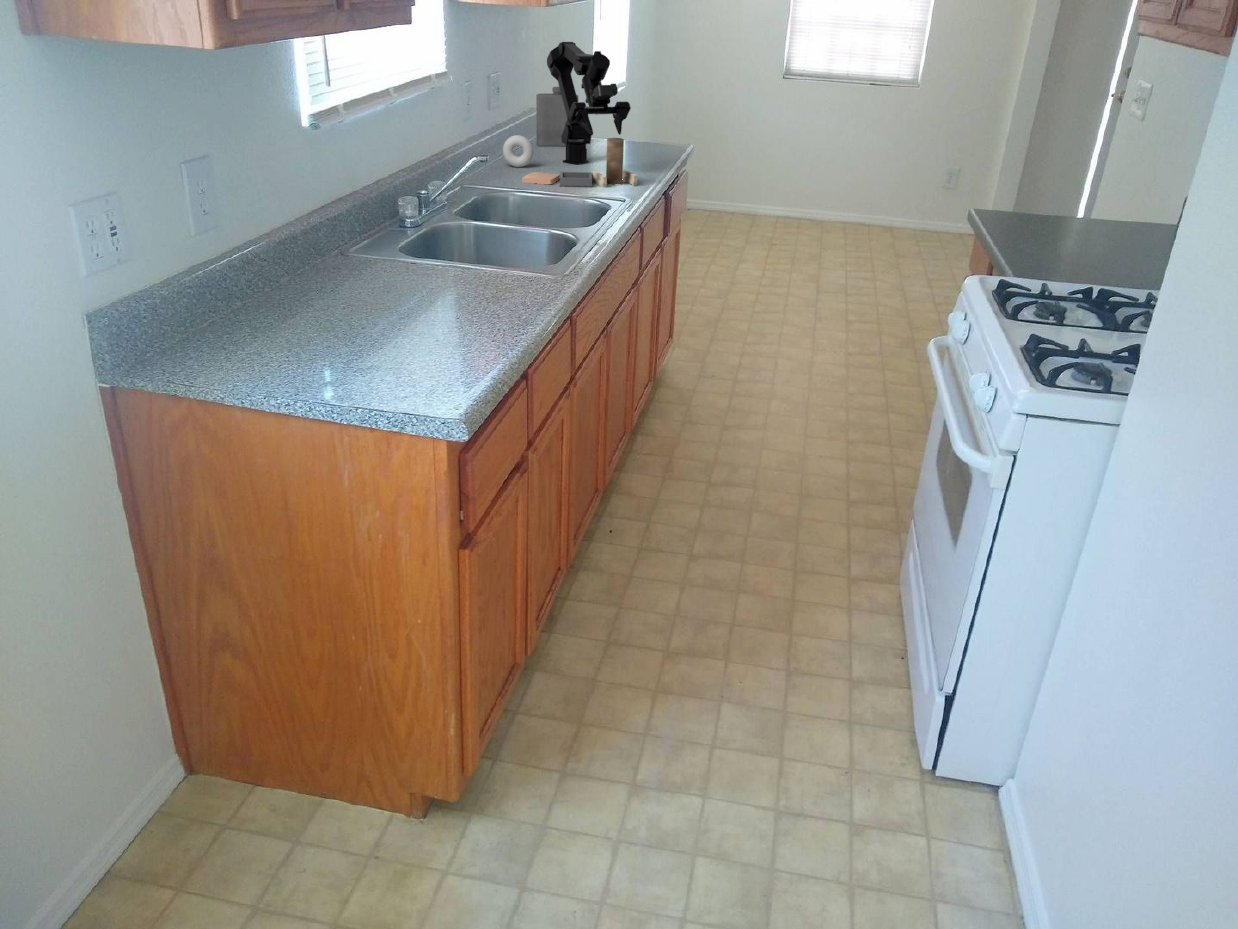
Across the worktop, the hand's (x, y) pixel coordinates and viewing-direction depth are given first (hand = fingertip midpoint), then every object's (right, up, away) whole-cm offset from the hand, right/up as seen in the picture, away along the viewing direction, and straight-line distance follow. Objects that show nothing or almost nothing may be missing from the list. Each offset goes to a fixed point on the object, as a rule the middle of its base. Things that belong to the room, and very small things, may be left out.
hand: (606, 134), depth 291 cm
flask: (-19, +15, +56) cm, 61 cm away
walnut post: (+2, -15, 0) cm, 15 cm away
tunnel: (+2, -15, 0) cm, 15 cm away
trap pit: (-9, -16, -2) cm, 18 cm away
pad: (-20, -15, -1) cm, 25 cm away
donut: (-29, -5, +18) cm, 34 cm away
